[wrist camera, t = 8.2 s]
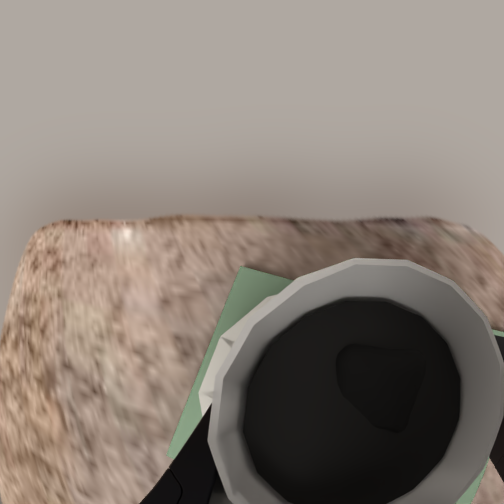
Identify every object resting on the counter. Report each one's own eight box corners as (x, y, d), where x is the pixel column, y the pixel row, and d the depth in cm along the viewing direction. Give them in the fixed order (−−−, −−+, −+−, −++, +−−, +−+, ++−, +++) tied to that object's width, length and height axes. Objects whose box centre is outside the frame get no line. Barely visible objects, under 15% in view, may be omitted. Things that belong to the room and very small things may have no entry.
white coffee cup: (275, 332, 15) (264, 229, 6) (389, 356, 13) (509, 285, 5) (239, 445, 12) (167, 513, 3) (360, 469, 11) (459, 539, 2)
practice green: (507, 335, 13) (528, 325, 11) (466, 502, 8) (485, 510, 6) (241, 270, 19) (235, 250, 16) (169, 453, 13) (151, 461, 11)
